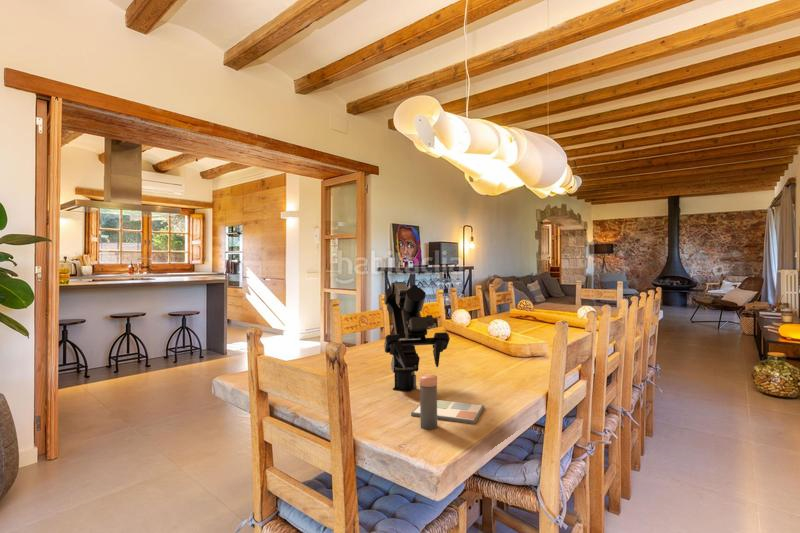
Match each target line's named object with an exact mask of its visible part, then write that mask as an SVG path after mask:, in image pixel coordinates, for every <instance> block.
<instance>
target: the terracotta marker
mask: <svg viewBox="0 0 800 533" xmlns="http://www.w3.org/2000/svg"><path fill="white" fill-rule="evenodd" d="M437 400H438V376H437V375H436V374H431V373H430V374H427V373H426V374H421V375H419V402H420V403H419V405H420V417H419V418H420V421H419V422H420V428H421V429H423V430H427V431H431V430H435V429H438V419H437Z"/></svg>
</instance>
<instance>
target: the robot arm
mask: <svg viewBox="0 0 800 533" xmlns="http://www.w3.org/2000/svg"><path fill="white" fill-rule="evenodd" d="M426 297H427V296H426V292H425V291H424V289H423V288H420V287H418V284H411V285H410V287H408V286H407V284H406V282H404V281H393V282H391V284H390V286H389V287H388V288H387V289H385V292H384V296H383V301H384V305H385V306H386V311H387V312H388V313H390V314H391V316H392V323H393V330H394V334H393V333H392V334H386V336H385V338H384V353H386V354H389V355H390V356H391V355H392V357H391V364H390V365H391V371H392V373H394V387H393V388H392V390H393V391H401V392H409V393H410V392H413V390H414V389H415V388H417V375H416V374H415V373H416V372H419V365H420V360H421V359H420V356H419V354H418V352H417V351H416V347H415V346H432V349H433V350H432V352H433V358H434V364H435V367H436V368H439V364H440V356H441V355H440V354H441V353H443V352H444V351H445V350H447V349H448V345H449V342H450V335H449V333H448V332H446V331H442V332H441V331H440V332H434V335H433V337H426V336H427V335H428V329H429V328H433V327H434V324H435V322H434V321H435V320H434V317H433V315H432V314H431V315H429V314H427V315H425V316H422V315H421V314H422V313H421V312H423V308H424V304H425V299H426Z"/></svg>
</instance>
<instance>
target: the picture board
mask: <svg viewBox="0 0 800 533" xmlns="http://www.w3.org/2000/svg"><path fill="white" fill-rule="evenodd" d="M484 409H485V405H484V404H478V403H477V404H475V403H469V402H467V403H466V402H458V401H451V400H450V401H449V400H441V399H437V420H442V421H448V422H457V423H465V424H471V425H476V423H477V421H478V420H479V418H480V416H481V414H482V413H483V411H484ZM410 416H412V417H418V418H420V404H418V406H416V407H415V408H414V409H413V411H412V412H410Z"/></svg>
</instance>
